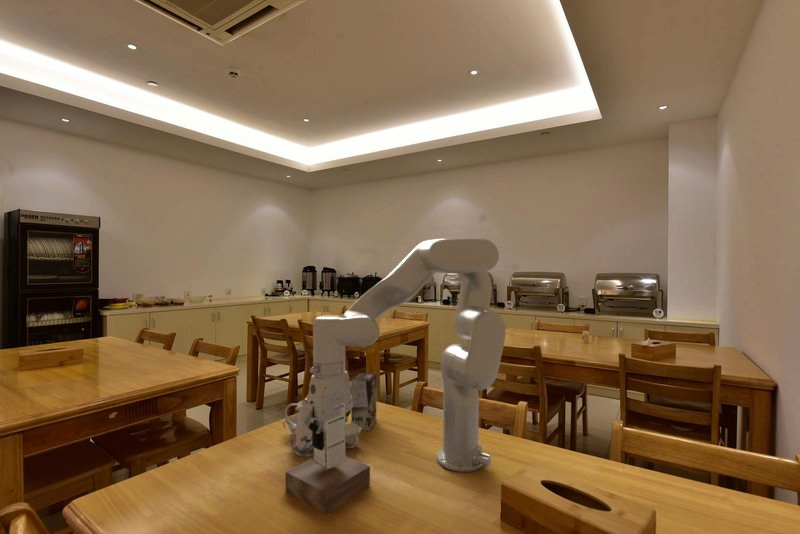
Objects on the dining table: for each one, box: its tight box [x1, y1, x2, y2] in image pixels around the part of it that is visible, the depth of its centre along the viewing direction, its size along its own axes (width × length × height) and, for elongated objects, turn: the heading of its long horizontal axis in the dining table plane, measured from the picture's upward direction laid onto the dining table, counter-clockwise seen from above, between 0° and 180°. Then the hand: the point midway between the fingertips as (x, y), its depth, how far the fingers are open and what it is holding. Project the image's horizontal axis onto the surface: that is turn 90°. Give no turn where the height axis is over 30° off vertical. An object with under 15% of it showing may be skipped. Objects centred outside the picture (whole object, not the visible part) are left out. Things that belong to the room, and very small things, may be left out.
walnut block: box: [285, 455, 371, 515], centre depth 95 cm, size 14×14×5 cm
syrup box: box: [312, 402, 346, 469], centre depth 95 cm, size 6×6×14 cm
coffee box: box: [350, 372, 378, 432], centre depth 132 cm, size 9×6×16 cm
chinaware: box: [283, 394, 363, 458], centre depth 117 cm, size 28×17×17 cm, turn 70°
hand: (329, 442), depth 95 cm, fingers closed on syrup box, 6 cm apart
